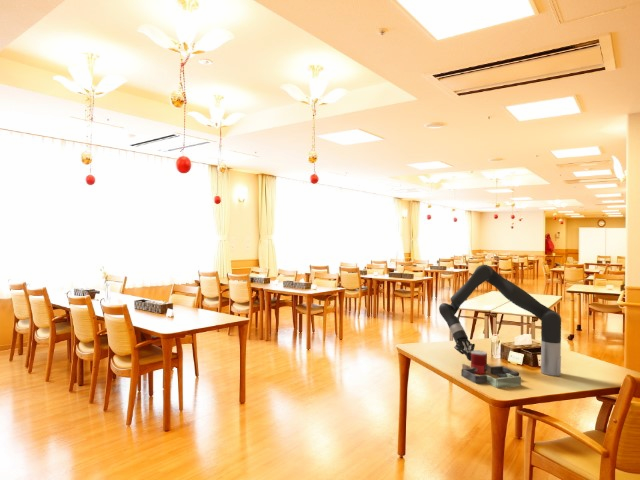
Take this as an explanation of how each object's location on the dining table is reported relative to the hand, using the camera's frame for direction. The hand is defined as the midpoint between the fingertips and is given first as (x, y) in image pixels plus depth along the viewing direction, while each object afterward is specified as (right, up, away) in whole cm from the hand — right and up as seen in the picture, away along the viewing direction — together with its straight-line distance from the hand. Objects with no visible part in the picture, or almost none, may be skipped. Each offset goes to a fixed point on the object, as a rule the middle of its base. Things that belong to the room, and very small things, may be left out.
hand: (471, 360), depth 233 cm
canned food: (+2, -5, -6) cm, 8 cm away
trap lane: (+4, -5, -15) cm, 16 cm away
